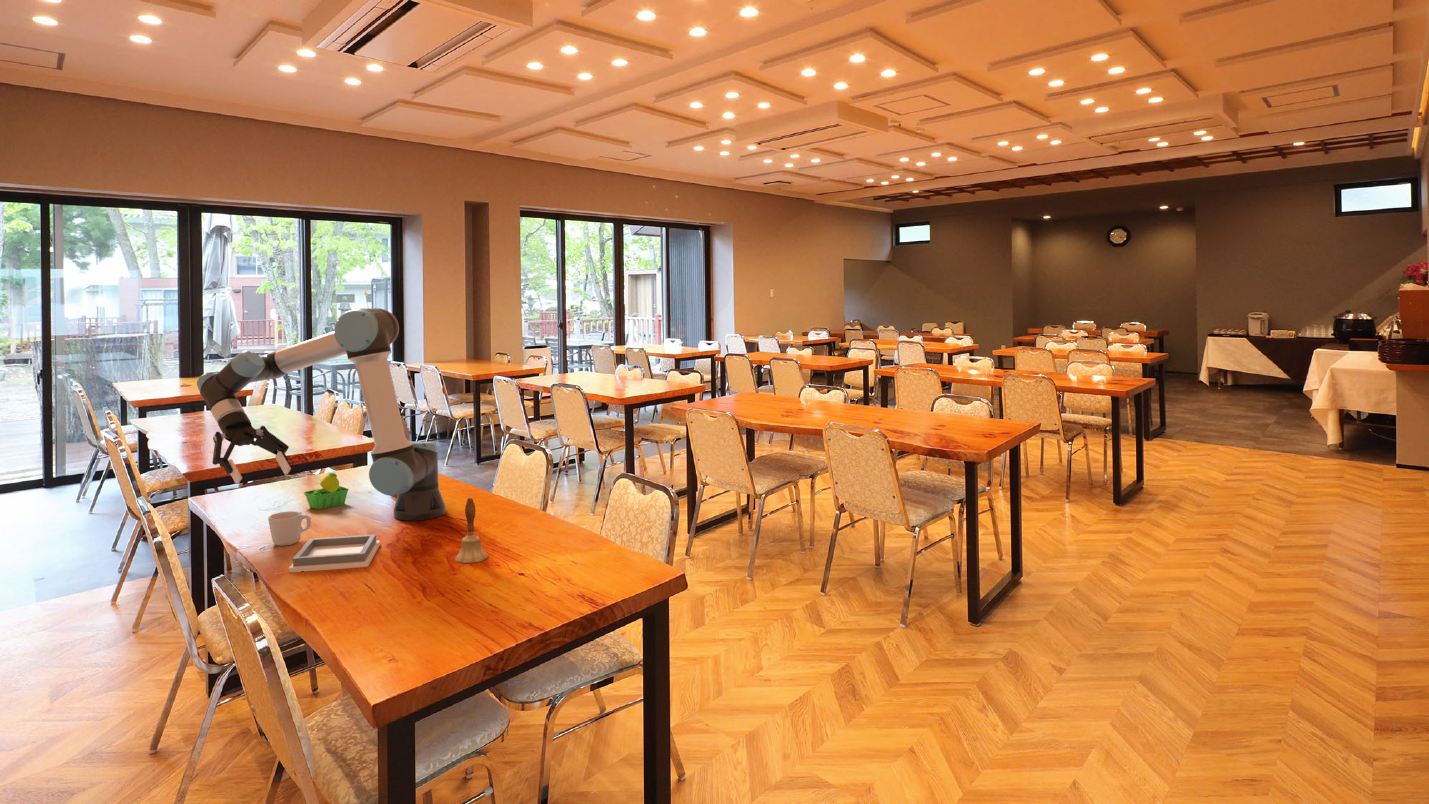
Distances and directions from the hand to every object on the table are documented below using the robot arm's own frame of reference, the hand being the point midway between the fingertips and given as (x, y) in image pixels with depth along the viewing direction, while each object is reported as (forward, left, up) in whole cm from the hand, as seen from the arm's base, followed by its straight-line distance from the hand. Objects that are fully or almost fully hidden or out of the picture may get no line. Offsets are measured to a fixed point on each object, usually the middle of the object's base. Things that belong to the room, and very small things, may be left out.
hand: (264, 476), depth 217 cm
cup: (-8, +8, -17) cm, 21 cm away
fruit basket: (-9, -30, -18) cm, 36 cm away
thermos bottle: (-29, -43, -17) cm, 55 cm away
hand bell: (-57, +33, -17) cm, 68 cm away
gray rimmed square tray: (-23, +25, -17) cm, 38 cm away
